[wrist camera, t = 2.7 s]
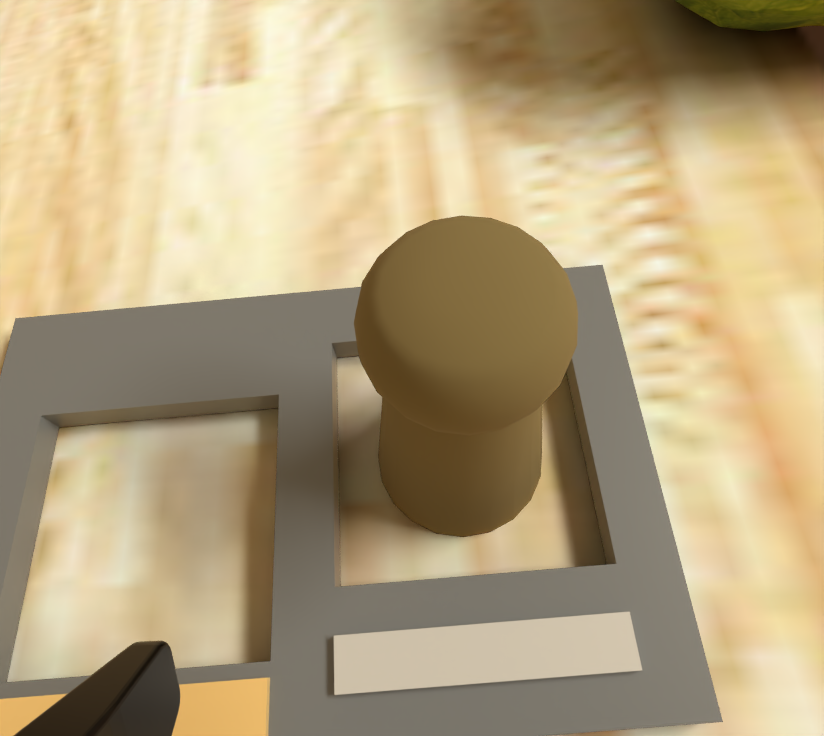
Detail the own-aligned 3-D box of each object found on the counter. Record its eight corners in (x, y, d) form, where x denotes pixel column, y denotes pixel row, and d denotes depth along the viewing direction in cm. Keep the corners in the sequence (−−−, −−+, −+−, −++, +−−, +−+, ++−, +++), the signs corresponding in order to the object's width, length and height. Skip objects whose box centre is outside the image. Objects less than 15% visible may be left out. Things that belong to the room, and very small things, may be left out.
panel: (706, 719, 18) (726, 722, 17) (-77, 780, 19) (-117, 788, 18) (596, 282, 26) (604, 260, 24) (33, 333, 26) (10, 314, 25)
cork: (406, 364, 25) (377, 154, 15) (557, 402, 23) (633, 202, 14) (355, 508, 22) (279, 369, 12) (521, 559, 21) (584, 450, 11)
